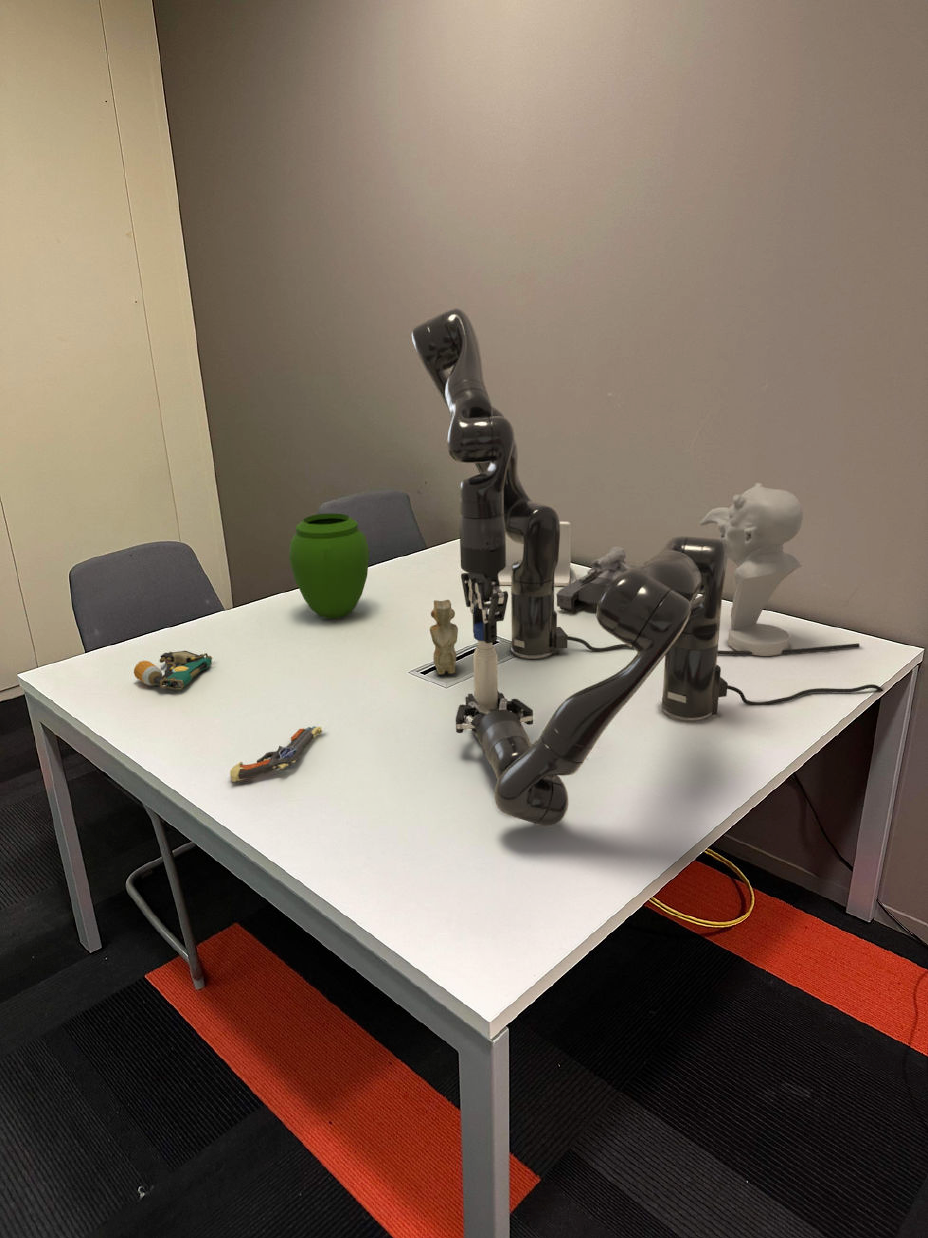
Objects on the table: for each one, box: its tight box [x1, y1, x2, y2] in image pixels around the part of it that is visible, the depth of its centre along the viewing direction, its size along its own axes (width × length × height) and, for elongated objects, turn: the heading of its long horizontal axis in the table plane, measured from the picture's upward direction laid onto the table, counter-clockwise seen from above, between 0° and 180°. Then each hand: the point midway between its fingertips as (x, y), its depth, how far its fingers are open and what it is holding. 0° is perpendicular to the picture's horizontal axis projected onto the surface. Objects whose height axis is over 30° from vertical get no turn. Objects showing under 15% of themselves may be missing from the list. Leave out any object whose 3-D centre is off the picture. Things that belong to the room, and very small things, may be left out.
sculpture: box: [429, 599, 459, 675], centre depth 177 cm, size 6×7×15 cm
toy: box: [556, 546, 637, 613], centre depth 212 cm, size 25×20×15 cm
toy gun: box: [229, 725, 323, 782], centre depth 147 cm, size 3×19×10 cm
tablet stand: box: [498, 521, 572, 587], centre depth 236 cm, size 18×25×17 cm
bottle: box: [472, 640, 499, 739], centre depth 149 cm, size 4×4×20 cm
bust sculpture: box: [699, 482, 804, 657], centre depth 185 cm, size 16×24×35 cm
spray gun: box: [133, 650, 213, 690], centre depth 180 cm, size 4×17×15 cm
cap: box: [473, 622, 484, 641], centre depth 146 cm, size 4×4×2 cm
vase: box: [288, 512, 370, 620], centre depth 209 cm, size 20×20×24 cm
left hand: (485, 637), depth 146 cm, fingers closed on cap, 3 cm apart
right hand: (482, 697), depth 153 cm, fingers closed on bottle, 4 cm apart
